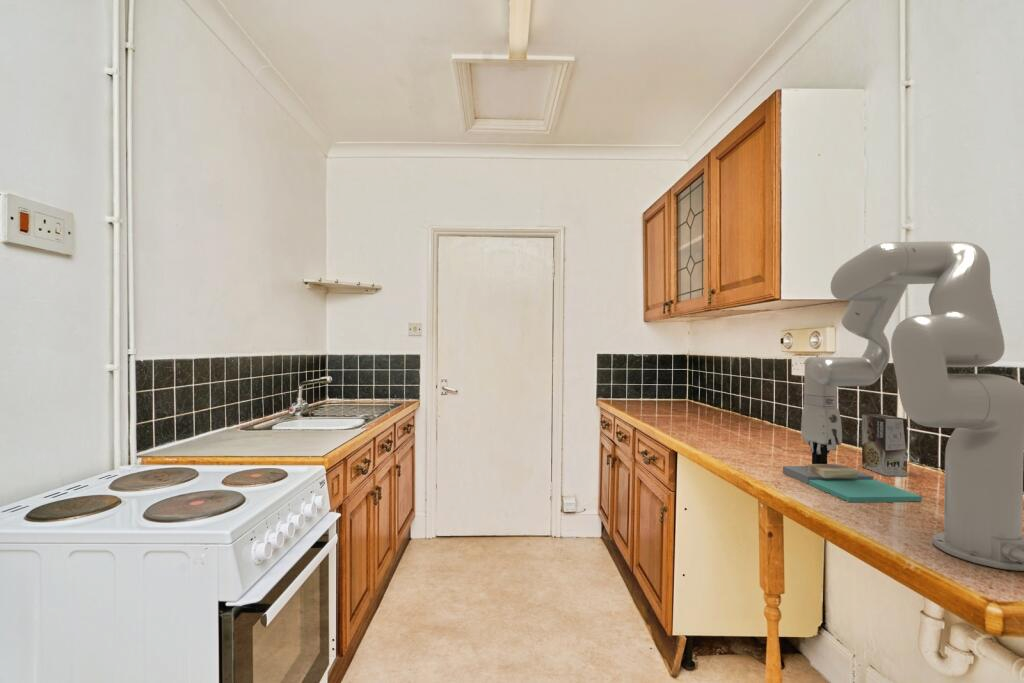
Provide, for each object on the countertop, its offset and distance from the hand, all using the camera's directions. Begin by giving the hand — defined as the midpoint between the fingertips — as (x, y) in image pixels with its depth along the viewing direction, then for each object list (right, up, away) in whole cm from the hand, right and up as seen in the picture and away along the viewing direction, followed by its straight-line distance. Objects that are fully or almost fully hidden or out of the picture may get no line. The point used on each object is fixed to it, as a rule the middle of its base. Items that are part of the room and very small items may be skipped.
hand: (819, 467), depth 125 cm
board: (+1, -3, -1) cm, 3 cm away
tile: (0, -1, -5) cm, 5 cm away
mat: (+2, -3, -13) cm, 13 cm away
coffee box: (+23, -3, +6) cm, 24 cm away
